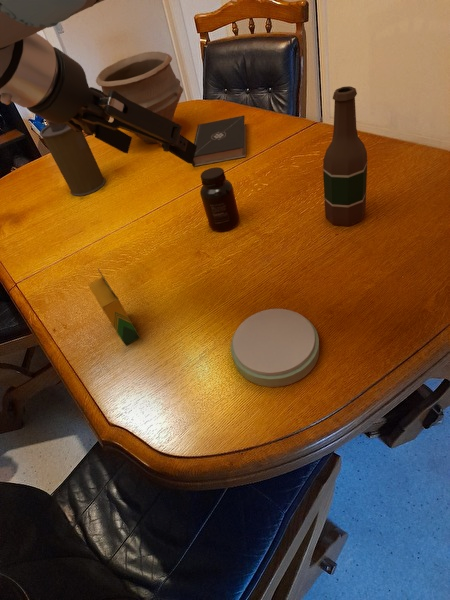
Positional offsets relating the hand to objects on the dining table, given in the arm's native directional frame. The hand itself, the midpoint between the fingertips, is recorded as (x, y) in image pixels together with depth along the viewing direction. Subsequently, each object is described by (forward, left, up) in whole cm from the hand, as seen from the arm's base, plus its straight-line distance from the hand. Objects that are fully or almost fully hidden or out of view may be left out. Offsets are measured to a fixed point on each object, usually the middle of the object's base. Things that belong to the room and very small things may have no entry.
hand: (159, 149), depth 64 cm
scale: (-20, +18, -24) cm, 36 cm away
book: (+13, -52, -24) cm, 58 cm away
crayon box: (+7, +18, -24) cm, 31 cm away
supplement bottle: (-1, -14, -24) cm, 28 cm away
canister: (+47, -31, -24) cm, 61 cm away
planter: (+38, -60, -24) cm, 75 cm away
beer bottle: (-26, -17, -24) cm, 39 cm away
